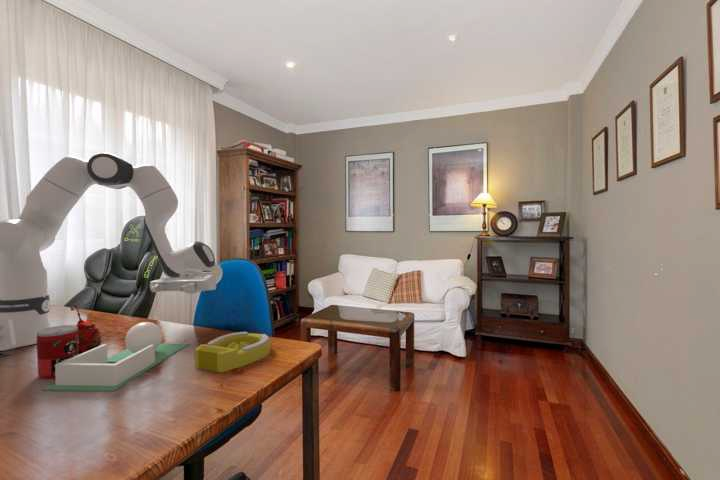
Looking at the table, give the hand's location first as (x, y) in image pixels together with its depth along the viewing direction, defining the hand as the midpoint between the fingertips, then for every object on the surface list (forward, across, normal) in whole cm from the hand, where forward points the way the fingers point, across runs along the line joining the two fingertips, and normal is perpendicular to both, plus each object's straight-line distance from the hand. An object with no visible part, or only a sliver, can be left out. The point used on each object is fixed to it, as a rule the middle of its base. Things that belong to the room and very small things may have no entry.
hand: (168, 289), depth 108 cm
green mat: (+19, 0, +16) cm, 25 cm away
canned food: (+26, -13, +15) cm, 33 cm away
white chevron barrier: (+25, 0, +16) cm, 30 cm away
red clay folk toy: (+11, -20, +16) cm, 27 cm away
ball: (+12, 0, +12) cm, 17 cm away
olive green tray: (+11, +26, +18) cm, 33 cm away
